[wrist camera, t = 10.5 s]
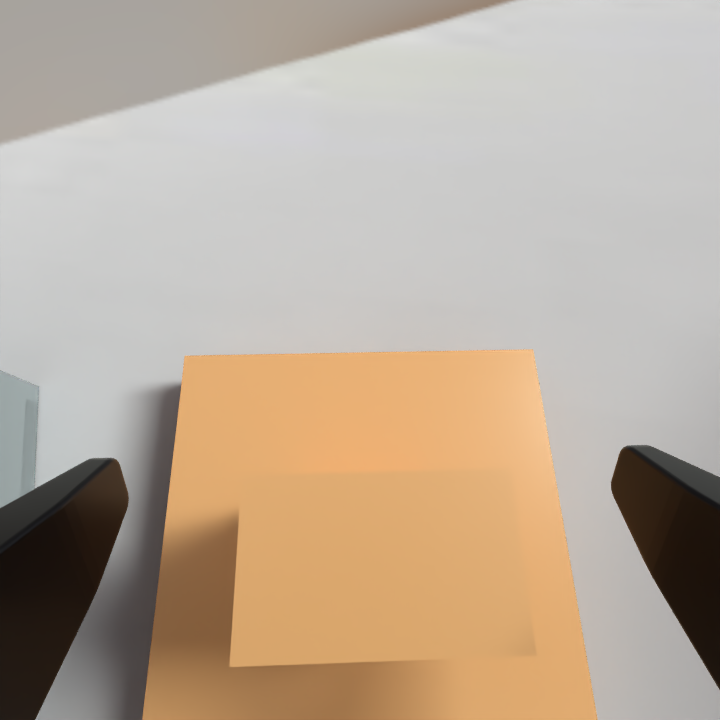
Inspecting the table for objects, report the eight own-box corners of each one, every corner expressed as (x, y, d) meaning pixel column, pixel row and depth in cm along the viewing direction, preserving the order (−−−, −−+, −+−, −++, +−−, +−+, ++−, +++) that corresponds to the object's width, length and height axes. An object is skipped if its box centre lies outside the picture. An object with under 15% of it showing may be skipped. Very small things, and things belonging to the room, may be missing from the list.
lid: (565, 742, 12) (939, 1130, 4) (170, 759, 12) (-169, 1207, 4) (509, 371, 16) (659, 230, 8) (207, 377, 16) (64, 237, 8)
